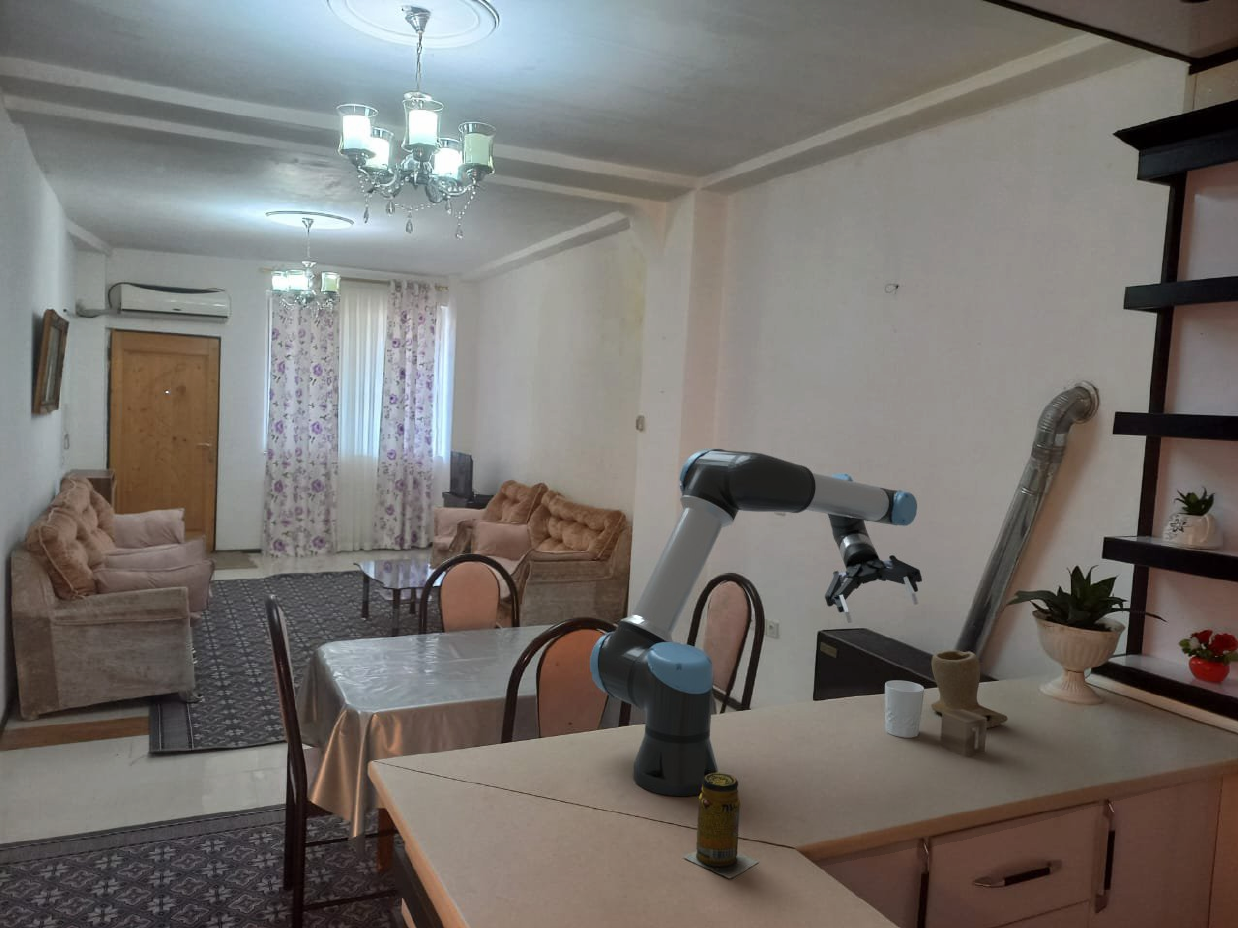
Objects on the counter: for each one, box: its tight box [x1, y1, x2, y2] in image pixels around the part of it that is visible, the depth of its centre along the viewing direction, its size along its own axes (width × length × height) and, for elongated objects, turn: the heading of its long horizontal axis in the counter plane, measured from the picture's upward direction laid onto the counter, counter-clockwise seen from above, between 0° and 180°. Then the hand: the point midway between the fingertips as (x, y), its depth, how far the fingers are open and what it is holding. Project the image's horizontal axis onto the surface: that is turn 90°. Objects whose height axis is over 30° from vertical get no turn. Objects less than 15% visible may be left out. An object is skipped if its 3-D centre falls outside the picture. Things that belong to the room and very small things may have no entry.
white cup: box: [884, 679, 925, 739], centre depth 188 cm, size 8×8×10 cm
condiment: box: [683, 772, 759, 879], centre depth 131 cm, size 7×8×12 cm
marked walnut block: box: [939, 709, 987, 758], centre depth 180 cm, size 6×6×7 cm
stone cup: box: [930, 649, 1009, 729], centre depth 198 cm, size 15×12×15 cm
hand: (881, 608), depth 180 cm, fingers open, 13 cm apart
